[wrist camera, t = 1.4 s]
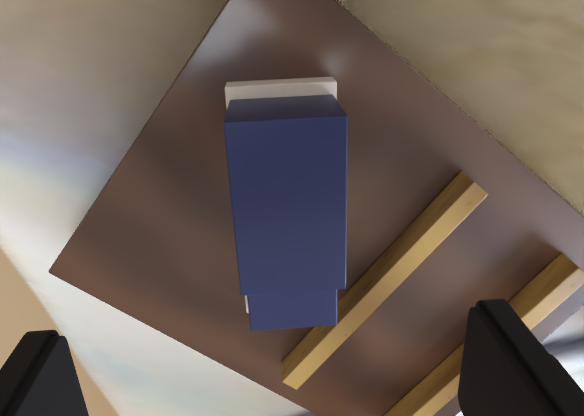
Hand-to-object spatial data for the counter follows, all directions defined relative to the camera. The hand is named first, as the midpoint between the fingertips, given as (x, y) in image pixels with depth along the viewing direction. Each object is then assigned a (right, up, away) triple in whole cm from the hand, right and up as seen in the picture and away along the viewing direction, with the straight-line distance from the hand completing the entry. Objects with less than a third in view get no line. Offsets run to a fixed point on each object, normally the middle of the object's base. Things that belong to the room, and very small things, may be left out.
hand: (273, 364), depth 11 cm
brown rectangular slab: (+3, +2, +17) cm, 17 cm away
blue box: (0, +4, +11) cm, 12 cm away
